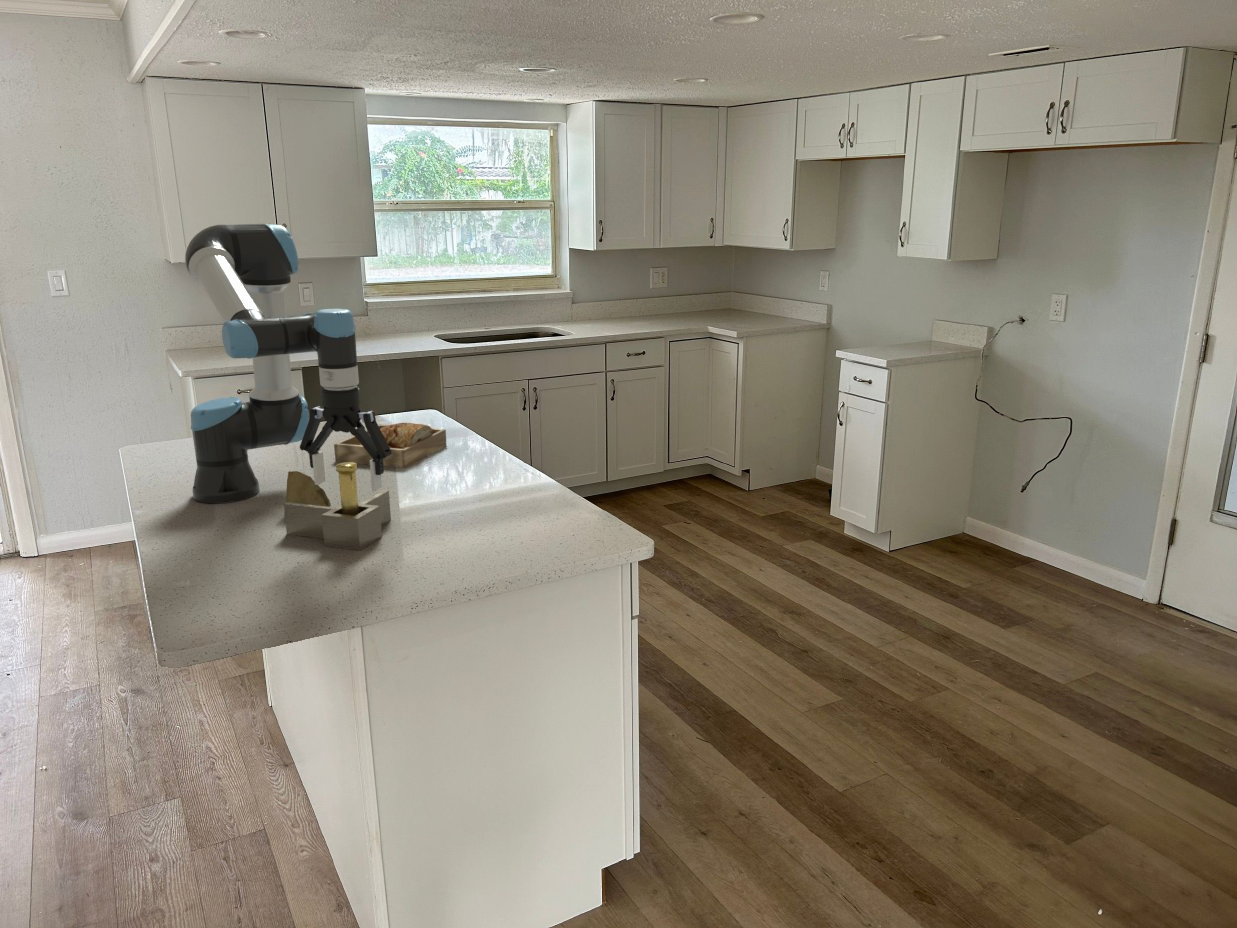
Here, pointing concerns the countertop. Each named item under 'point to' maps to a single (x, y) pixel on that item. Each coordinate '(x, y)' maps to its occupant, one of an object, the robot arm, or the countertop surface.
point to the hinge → (340, 522)
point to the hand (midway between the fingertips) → (348, 486)
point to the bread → (405, 434)
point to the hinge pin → (348, 488)
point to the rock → (305, 490)
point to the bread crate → (399, 458)
